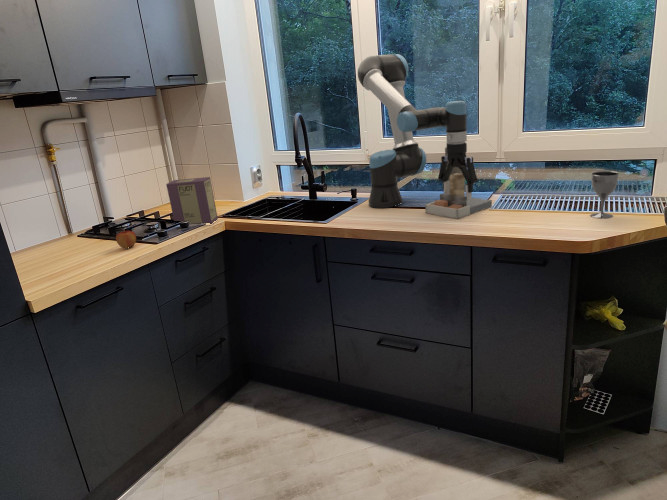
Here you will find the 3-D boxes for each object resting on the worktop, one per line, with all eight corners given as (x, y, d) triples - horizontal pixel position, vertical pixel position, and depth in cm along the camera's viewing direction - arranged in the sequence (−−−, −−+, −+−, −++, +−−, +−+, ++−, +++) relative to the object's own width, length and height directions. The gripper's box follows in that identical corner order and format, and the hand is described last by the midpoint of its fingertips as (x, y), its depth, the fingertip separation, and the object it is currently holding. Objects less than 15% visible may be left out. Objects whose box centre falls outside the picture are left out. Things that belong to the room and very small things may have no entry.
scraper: (440, 204, 193) (439, 174, 190) (449, 201, 196) (448, 172, 193) (463, 207, 184) (463, 177, 180) (473, 204, 187) (472, 174, 183)
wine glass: (611, 212, 168) (615, 170, 163) (617, 218, 161) (621, 175, 156) (586, 213, 170) (589, 171, 166) (591, 219, 163) (594, 176, 158)
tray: (425, 213, 192) (425, 204, 191) (437, 209, 196) (437, 200, 195) (457, 219, 180) (457, 209, 178) (469, 214, 184) (469, 205, 182)
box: (218, 219, 218) (210, 176, 211) (211, 225, 209) (203, 180, 203) (183, 222, 219) (174, 180, 213) (175, 228, 211) (166, 184, 204)
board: (437, 209, 196) (437, 203, 195) (459, 201, 204) (459, 195, 203) (469, 214, 184) (469, 208, 183) (491, 206, 191) (491, 200, 190)
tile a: (439, 210, 193) (435, 211, 191) (439, 199, 191) (434, 200, 190) (448, 211, 189) (443, 213, 188) (447, 200, 188) (443, 202, 186)
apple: (128, 251, 183) (123, 231, 181) (114, 250, 186) (109, 231, 184) (142, 245, 190) (137, 226, 187) (128, 244, 192) (123, 226, 190)
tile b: (446, 213, 186) (446, 208, 185) (454, 210, 189) (453, 204, 188) (455, 215, 183) (455, 209, 182) (463, 211, 185) (462, 205, 184)
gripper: (427, 143, 190) (429, 197, 197) (474, 145, 172) (475, 204, 179) (440, 140, 194) (441, 193, 201) (487, 142, 176) (487, 200, 183)
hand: (457, 198), depth 190 cm, fingers open, 10 cm apart
